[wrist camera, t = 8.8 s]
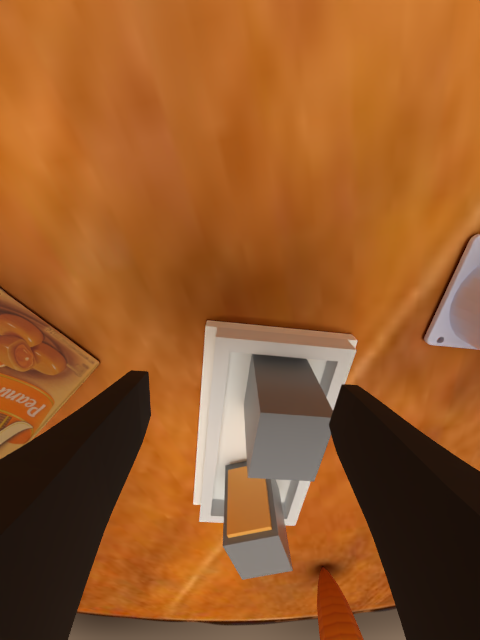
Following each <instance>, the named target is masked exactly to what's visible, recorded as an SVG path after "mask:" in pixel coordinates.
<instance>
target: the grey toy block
mask: <svg viewBox="0 0 480 640" xmlns="http://www.w3.org/2000/svg"><path fill="white" fill-rule="evenodd" d="M332 413H333V410H332V408H331V406H330V404H329V402H328V400H327V398H326V396H325V394H324V392H323V390H322V388H321V386H320V384H319V382H318V380H317V378H316V376H315V374H314V372H313V370H312V368H311V366H310V364H309V362H308V360H307V359H305V358H294V357H282V356H271V355H260V354H252V356H251V362H250V368H249V374H248V381H247V387H246V393H245V400H244V419H245V438H246V456H247V475H248V478H260V479H278V480H297V481H314V480H315V477H316V475H317V472H318V469H319V466H320V463H321V461H322V458H323V455H324V452H325V450H326V447H327V444H328V441H329V438H330V436H331V431H330V428H329V422H330V419H331V416H332Z"/></svg>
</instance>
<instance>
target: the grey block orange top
mask: <svg viewBox="0 0 480 640" xmlns="http://www.w3.org/2000/svg"><path fill="white" fill-rule="evenodd" d="M223 547H224V549H225V551H226V552H227V554H228V556H229V557H230V559H231V561H232V563H233V564H234V566H235V568H236V569H237V571H238V573H239V575H240V576H241V578H242V580H243V579H248V578H254V577H260V576H265V575H271V574H277V573H282V572H288V571H293V570H292V564H291V558H290V552H289V546H288V540H287V534H286V528H285V522H284V516H283V510H282V503H281V497H280V491H279V488H278V485H277V482H276V479H260V478H248V475H247V461H243V462H239V463H234V464H230V465H225V495H224V526H223Z"/></svg>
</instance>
